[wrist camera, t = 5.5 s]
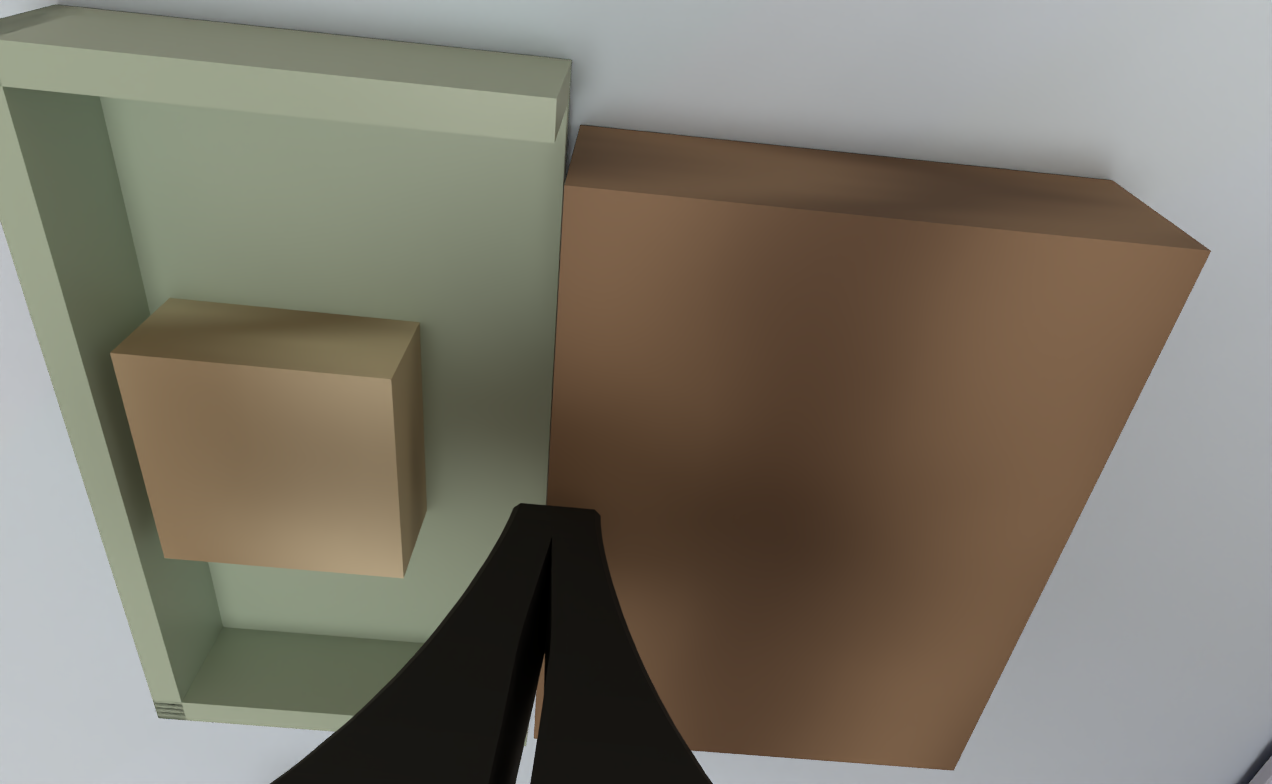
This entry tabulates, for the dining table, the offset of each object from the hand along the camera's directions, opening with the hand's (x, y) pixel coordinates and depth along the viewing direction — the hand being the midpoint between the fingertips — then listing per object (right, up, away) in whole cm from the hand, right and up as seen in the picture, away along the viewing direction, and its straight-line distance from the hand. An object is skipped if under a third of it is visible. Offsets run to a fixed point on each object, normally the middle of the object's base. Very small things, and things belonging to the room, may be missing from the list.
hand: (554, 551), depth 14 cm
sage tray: (-4, +2, +3) cm, 6 cm away
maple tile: (-5, +1, +1) cm, 5 cm away
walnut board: (+4, +2, +3) cm, 6 cm away
